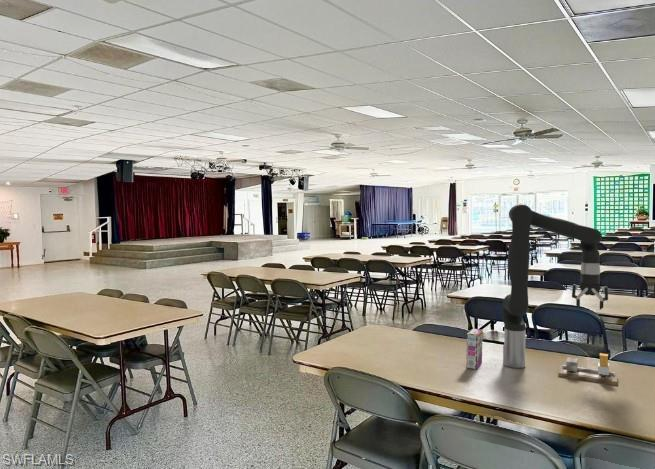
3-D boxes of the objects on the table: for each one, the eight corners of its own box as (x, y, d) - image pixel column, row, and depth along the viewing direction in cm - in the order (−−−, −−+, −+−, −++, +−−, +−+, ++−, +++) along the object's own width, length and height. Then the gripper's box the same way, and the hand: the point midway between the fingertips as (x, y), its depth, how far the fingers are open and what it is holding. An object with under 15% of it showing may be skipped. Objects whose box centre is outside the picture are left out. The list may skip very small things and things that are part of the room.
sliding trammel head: (597, 375, 200) (598, 355, 199) (598, 371, 205) (598, 351, 205) (608, 377, 198) (609, 357, 197) (608, 372, 203) (609, 353, 203)
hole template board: (558, 376, 206) (558, 361, 205) (560, 369, 214) (560, 355, 214) (617, 385, 195) (617, 369, 194) (616, 377, 203) (617, 363, 203)
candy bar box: (477, 370, 214) (477, 334, 213) (466, 368, 217) (466, 333, 216) (482, 363, 224) (483, 329, 223) (472, 361, 226) (472, 328, 226)
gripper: (608, 272, 211) (607, 308, 212) (573, 270, 218) (572, 305, 219) (608, 274, 205) (607, 311, 206) (571, 272, 212) (571, 308, 213)
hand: (589, 308), depth 212 cm, fingers open, 8 cm apart
